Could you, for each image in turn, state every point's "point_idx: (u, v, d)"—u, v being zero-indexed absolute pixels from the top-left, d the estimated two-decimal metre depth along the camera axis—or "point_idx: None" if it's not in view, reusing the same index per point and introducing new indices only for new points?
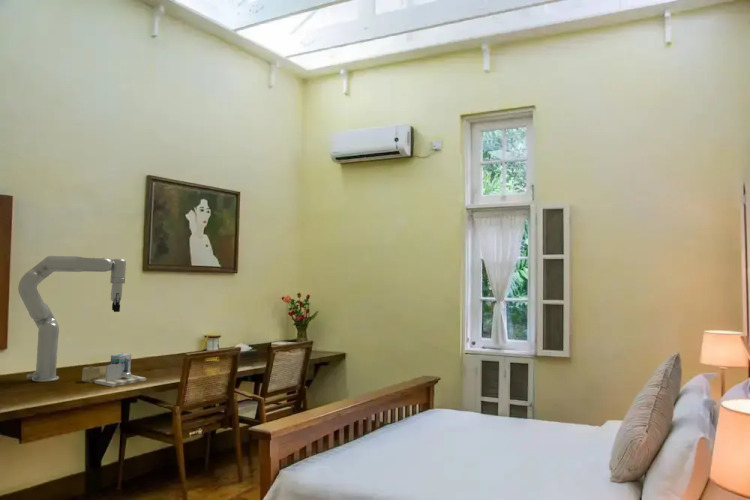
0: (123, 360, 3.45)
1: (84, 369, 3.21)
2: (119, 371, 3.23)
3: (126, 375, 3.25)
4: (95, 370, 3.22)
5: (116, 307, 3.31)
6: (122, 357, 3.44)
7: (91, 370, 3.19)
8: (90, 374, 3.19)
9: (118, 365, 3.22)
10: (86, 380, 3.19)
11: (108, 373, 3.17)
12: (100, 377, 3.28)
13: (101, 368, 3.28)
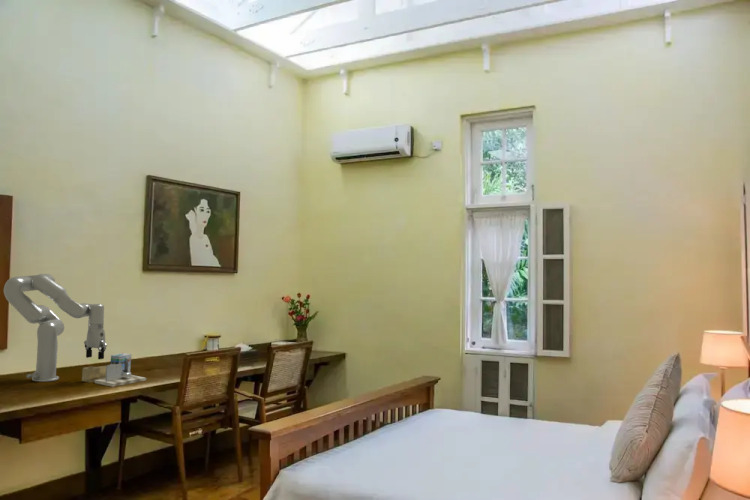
0: (123, 360, 3.45)
1: (84, 369, 3.21)
2: (119, 371, 3.23)
3: (126, 375, 3.25)
4: (95, 370, 3.22)
5: None
6: (122, 357, 3.44)
7: (91, 370, 3.19)
8: (90, 374, 3.19)
9: (118, 365, 3.22)
10: (86, 380, 3.19)
11: (108, 373, 3.17)
12: (100, 377, 3.28)
13: (101, 368, 3.28)
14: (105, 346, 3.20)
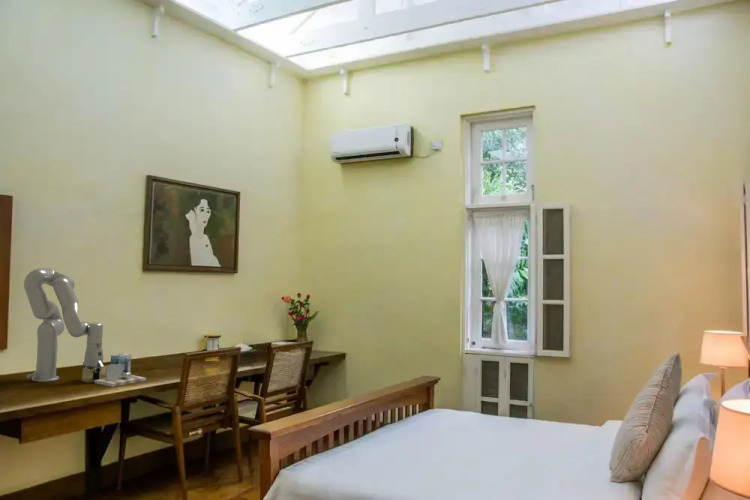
0: (123, 360, 3.45)
1: (84, 369, 3.21)
2: (119, 371, 3.23)
3: (126, 375, 3.25)
4: None
5: None
6: (122, 357, 3.44)
7: (91, 370, 3.19)
8: (90, 374, 3.19)
9: (118, 365, 3.22)
10: (86, 380, 3.19)
11: (108, 373, 3.17)
12: (100, 377, 3.28)
13: None
14: (101, 368, 3.20)
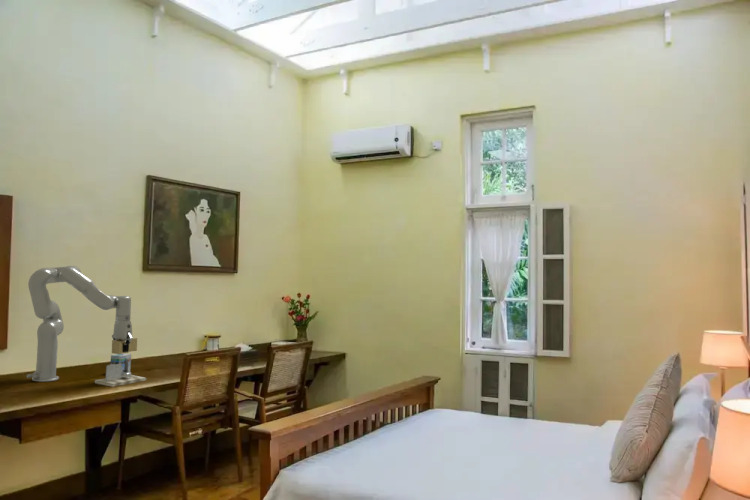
0: (123, 360, 3.45)
1: (114, 341, 3.25)
2: (119, 371, 3.23)
3: (126, 375, 3.25)
4: None
5: None
6: (122, 357, 3.44)
7: (121, 342, 3.23)
8: (120, 346, 3.23)
9: (118, 365, 3.22)
10: (116, 352, 3.23)
11: (108, 373, 3.17)
12: (129, 349, 3.32)
13: None
14: (130, 340, 3.24)
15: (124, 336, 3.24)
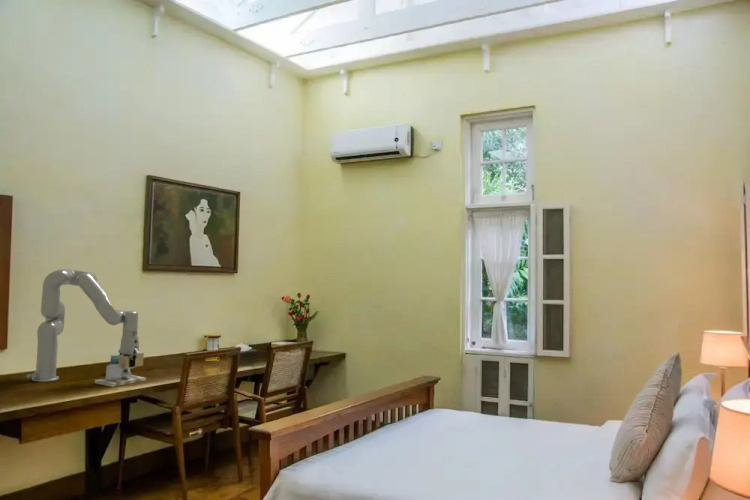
0: None
1: (120, 356, 3.25)
2: (119, 371, 3.23)
3: (126, 375, 3.25)
4: None
5: None
6: None
7: (127, 357, 3.24)
8: (126, 361, 3.24)
9: (118, 365, 3.22)
10: (123, 367, 3.24)
11: (108, 373, 3.17)
12: (135, 364, 3.33)
13: None
14: (137, 355, 3.25)
15: (131, 351, 3.25)
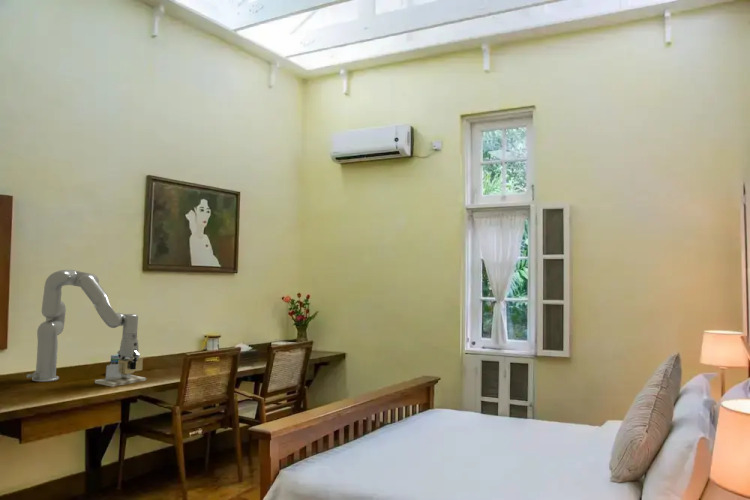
0: None
1: (120, 361, 3.25)
2: (119, 371, 3.23)
3: (126, 375, 3.25)
4: (130, 362, 3.26)
5: None
6: None
7: (127, 362, 3.24)
8: (126, 366, 3.24)
9: (118, 365, 3.22)
10: (122, 372, 3.24)
11: (108, 373, 3.17)
12: (135, 369, 3.32)
13: None
14: (138, 357, 3.25)
15: (130, 354, 3.25)
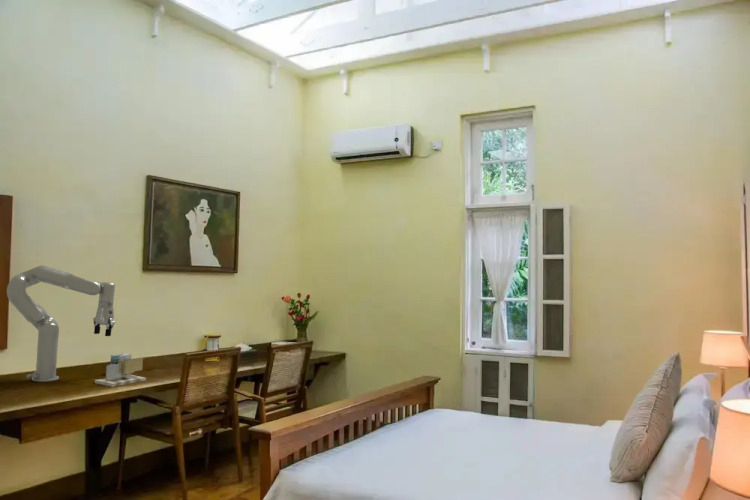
0: None
1: (120, 361, 3.25)
2: (119, 371, 3.23)
3: (126, 375, 3.25)
4: (130, 362, 3.26)
5: None
6: (122, 357, 3.44)
7: (127, 362, 3.24)
8: (126, 366, 3.24)
9: (118, 365, 3.22)
10: (122, 372, 3.24)
11: (108, 373, 3.17)
12: (135, 369, 3.32)
13: (136, 360, 3.33)
14: (113, 324, 3.29)
15: (105, 322, 3.30)
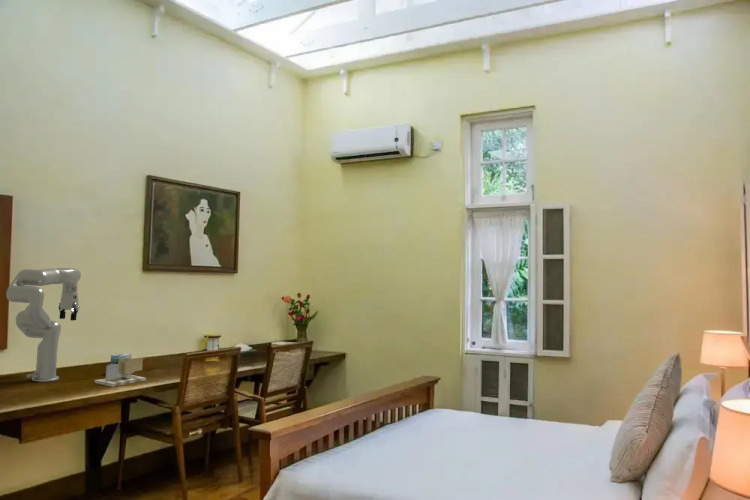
0: None
1: (120, 361, 3.25)
2: (119, 371, 3.23)
3: (126, 375, 3.25)
4: (130, 362, 3.26)
5: None
6: (122, 357, 3.44)
7: (127, 362, 3.24)
8: (126, 366, 3.24)
9: (118, 365, 3.22)
10: (122, 372, 3.24)
11: (108, 373, 3.17)
12: (135, 369, 3.32)
13: (136, 360, 3.33)
14: (77, 308, 3.37)
15: (70, 306, 3.37)
